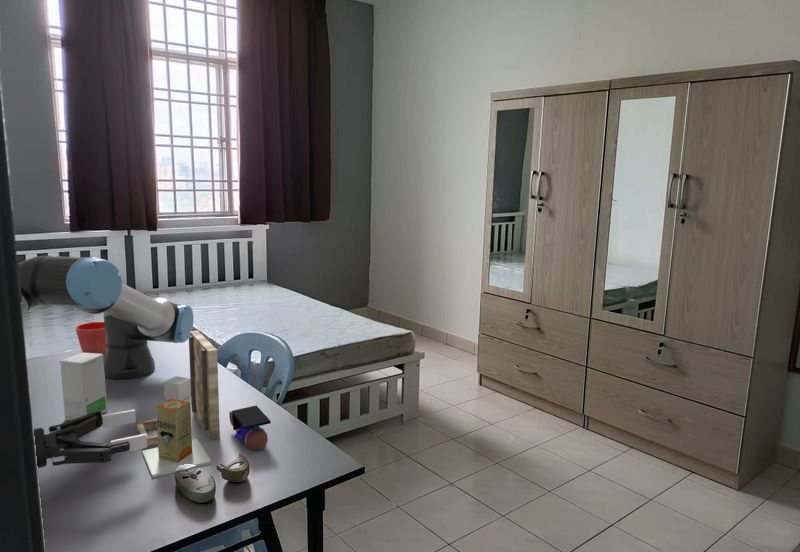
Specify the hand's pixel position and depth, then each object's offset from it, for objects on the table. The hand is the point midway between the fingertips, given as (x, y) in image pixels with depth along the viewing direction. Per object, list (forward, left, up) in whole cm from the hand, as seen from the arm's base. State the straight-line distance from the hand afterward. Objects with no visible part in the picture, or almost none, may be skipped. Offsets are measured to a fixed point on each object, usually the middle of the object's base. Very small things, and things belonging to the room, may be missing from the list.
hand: (141, 427), depth 123 cm
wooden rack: (-17, -4, -9) cm, 20 cm away
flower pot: (-56, -66, -9) cm, 88 cm away
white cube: (-35, -17, -9) cm, 40 cm away
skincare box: (-16, -31, -9) cm, 37 cm away
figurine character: (-19, +15, -9) cm, 25 cm away
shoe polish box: (-5, +4, -9) cm, 11 cm away
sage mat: (-5, +4, -9) cm, 11 cm away
